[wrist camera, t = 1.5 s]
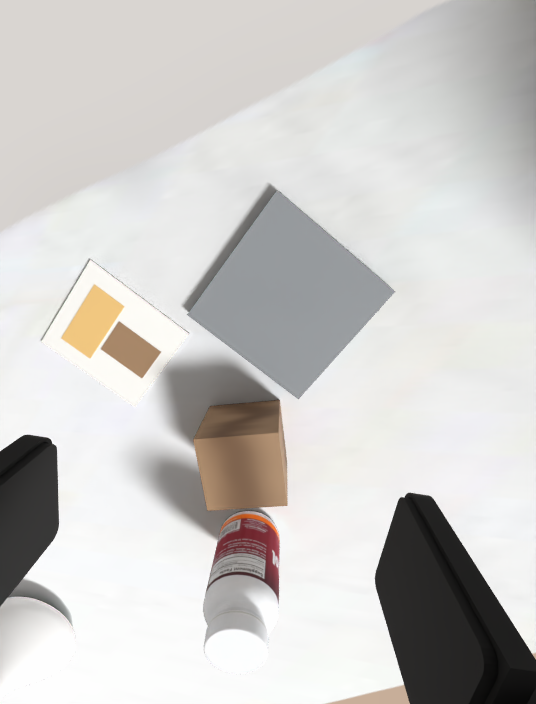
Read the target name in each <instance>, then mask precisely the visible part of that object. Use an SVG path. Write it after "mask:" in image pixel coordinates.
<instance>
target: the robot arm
mask: <svg viewBox="0 0 536 704" xmlns="http://www.w3.org/2000/svg"><path fill="white" fill-rule="evenodd" d="M58 527H59V511H58V472H57V447H56V446H55V445H54V444H52V441H51V440H50V439H49V438H46V437H39V436H33V435H24V436H22V437H20V438H19V439H17V440H16V441H14V442H13V443H12V444H10V445H9V446H7V447H6V448H4V449H3V450H2V451H0V607H1V605H2V604H3V603H4V601H5V600H6V599H7V598H8V596H9V595H10V594H11V593H12V591H13V590H14V589H15V588H16V586H17V585H18V584H19V583H20V581H21V580H22V579H23V578H24V576H25V575H26V574H27V572H28V571H29V570H30V569H31V567H32V566H33V565H34V564H35V562H36V561H37V560H38V559H39V557H40V556H41V555H42V554H43V552H44V551H45V550H46V549H47V547H48V546H49V545H50V544H51V542H52V541H53V539H54V538H55V536H56V534H57V531H58ZM375 584H376V590H377V593H378V596H379V600H380V603H381V607H382V610H383V613H384V617H385V620H386V624H387V627H388V630H389V634H390V637H391V641H392V644H393V648H394V651H395V654H396V658H397V661H398V665H399V668H400V671H401V675H402V678H403V682H404V685H405V688H406V692H407V695H408V698H409V702H410V704H536V659H535V658H534V656H533V655H532V653H531V651H530V650H529V648H528V647H527V645H526V644H525V642H524V640H523V639H522V637H521V636H520V634H519V633H518V631H517V629H516V628H515V626H514V625H513V623H512V622H511V620H510V618H509V617H508V615H507V614H506V612H505V611H504V609H503V607H502V606H501V604H500V603H499V601H498V600H497V598H496V596H495V595H494V593H493V592H492V590H491V589H490V587H489V585H488V584H487V582H486V581H485V579H484V578H483V576H482V574H481V573H480V571H479V570H478V568H477V567H476V565H475V563H474V562H473V560H472V559H471V557H470V556H469V554H468V553H467V551H466V549H465V548H464V546H463V545H462V543H461V542H460V540H459V538H458V537H457V535H456V534H455V532H454V531H453V529H452V527H451V526H450V524H449V523H448V521H447V520H446V518H445V516H444V515H443V513H442V512H441V510H440V509H439V507H438V505H437V504H436V502H435V501H434V499H433V498H432V497H431V496H427V495H421V494H414V493H407V494H406V496H405V498H403V497H401V498H400V499H399V501H398V503H397V506H396V510H395V513H394V516H393V519H392V522H391V526H390V529H389V532H388V535H387V538H386V541H385V545H384V548H383V551H382V554H381V557H380V560H379V564H378V567H377V570H376V574H375Z"/></svg>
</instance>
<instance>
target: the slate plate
mask: <svg viewBox="0 0 536 704" xmlns="http://www.w3.org/2000/svg"><path fill="white" fill-rule="evenodd" d="M394 292H395V291H394V290H393V289H392V288H391V287H390V286H388V285H387V284H386V283H385V282H384V281H383V280H381V279H380V278H379V277H378V276H377V275H376V274H374V273H373V272H372V271H371V270H370V269H369V268H367V267H366V266H365V265H364V264H363V263H362V262H360V261H359V260H358V259H357V258H356V257H355V256H353V255H352V254H351V253H350V252H349V251H348V250H346V249H345V248H344V247H343V246H342V245H341V244H339V243H338V242H337V241H336V240H335V239H334V238H332V237H331V236H330V235H329V234H328V233H327V232H325V231H324V230H323V229H322V228H321V227H320V226H318V225H317V224H316V223H315V222H314V221H313V220H311V219H310V218H309V217H308V216H307V215H306V214H304V213H303V212H302V211H301V210H300V209H299V208H297V207H296V206H295V205H294V204H293V203H292V202H290V201H289V200H288V199H287V198H286V197H285V196H284V195H282V194H281V193H280V192H279V191H278V190H277V191H276V192H275V194H274V195H273V196H272V198H271V199H270V200H269V202H268V203H267V205H266V206H265V207H264V209H263V210H262V212H261V213H260V214H259V216H258V217H257V218H256V220H255V221H254V223H253V224H252V225H251V227H250V228H249V230H248V231H247V232H246V234H245V235H244V236H243V238H242V239H241V241H240V242H239V243H238V245H237V246H236V248H235V249H234V250H233V252H232V253H231V255H230V256H229V257H228V259H227V260H226V261H225V263H224V264H223V266H222V267H221V268H220V270H219V271H218V273H217V274H216V275H215V277H214V278H213V279H212V281H211V282H210V284H209V285H208V286H207V288H206V289H205V291H204V292H203V293H202V295H201V296H200V297H199V299H198V300H197V302H196V303H195V304H194V306H193V307H192V309H191V310H190V311H189V313H188V314H187V315H188V316H189V317H191V318H192V319H193V320H195V321H196V322H197V323H199V324H200V325H201V326H203V327H204V328H205V329H207V330H208V331H209V332H211V333H212V334H213V335H214V336H216V337H217V338H218V339H220V340H221V341H222V342H224V343H225V344H226V345H228V346H229V347H230V348H232V349H233V350H234V351H236V352H237V353H238V354H239V355H241V356H242V357H243V358H245V359H246V360H247V361H249V362H250V363H251V364H253V365H254V366H255V367H257V368H258V369H259V370H261V371H262V372H263V373H265V374H266V375H267V376H268V377H270V378H271V379H272V380H274V381H275V382H276V383H278V384H279V385H280V386H282V387H283V388H284V389H286V390H287V391H288V392H290V393H291V394H292V395H293V396H295V397H296V398H297V399H299V398H300V397H301V396H302V395H303V394H304V392H305V391H306V390H307V389H308V388H309V387H310V386H311V385H312V384H313V382H314V381H315V380H316V379H317V378H318V377H319V376H320V375H321V373H322V372H323V371H324V370H325V369H326V368H327V367H328V366H329V365H330V363H331V362H332V361H333V360H334V359H335V358H336V357H337V356H338V355H339V353H340V352H341V351H342V350H343V349H344V348H345V347H346V346H347V345H348V343H349V342H350V341H351V340H352V339H353V338H354V337H355V336H356V335H357V333H358V332H359V331H360V330H361V329H362V328H363V327H364V326H365V325H366V323H367V322H368V321H369V320H370V319H371V318H372V317H373V316H374V315H375V313H376V312H377V311H378V310H379V309H380V308H381V307H382V306H383V305H384V303H385V302H386V301H387V300H388V299H389V298H390V297H391V296H392V295H393V293H394Z"/></svg>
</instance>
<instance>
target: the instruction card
mask: <svg viewBox="0 0 536 704" xmlns="http://www.w3.org/2000/svg"><path fill="white" fill-rule="evenodd" d="M188 335H189V333H188V332H187V331H185V330H184V329H183V328H181V327H180V326H179V325H177V324H176V323H175V322H173V321H172V320H171V319H169V318H168V317H167V316H165V315H164V314H163V313H161V312H160V311H159V310H157V309H156V308H155V307H153V306H152V305H151V304H149V303H148V302H147V301H145V300H144V299H143V298H141V297H140V296H139V295H137V294H136V293H135V292H133V291H132V290H131V289H129V288H128V287H127V286H125V285H124V284H123V283H121V282H120V281H119V280H117V279H116V278H115V277H113V276H112V275H111V274H109V273H108V272H107V271H105V270H104V269H103V268H101V267H100V266H99V265H97V264H96V263H95V262H93V261H92V260H90V261H89V263H88V264H87V266H86V268H85V269H84V271H83V273H82V274H81V276H80V278H79V279H78V281H77V283H76V284H75V286H74V288H73V289H72V291H71V293H70V294H69V296H68V298H67V299H66V301H65V303H64V304H63V306H62V308H61V309H60V311H59V313H58V314H57V316H56V318H55V319H54V321H53V323H52V324H51V326H50V328H49V329H48V331H47V333H46V335H45V336H44V338H43V340H42V341H41V342H42V343H43V344H45V345H46V346H47V347H49V348H50V349H52V350H53V351H55V352H56V353H57V354H59V355H60V356H62V357H63V358H65V359H66V360H68V361H69V362H70V363H72V364H73V365H75V366H76V367H78V368H79V369H80V370H82V371H83V372H85V373H86V374H88V375H89V376H91V377H92V378H93V379H95V380H96V381H98V382H99V383H101V384H102V385H103V386H105V387H106V388H108V389H109V390H111V391H112V392H113V393H115V394H116V395H118V396H119V397H121V398H122V399H124V400H125V401H126V402H128V403H129V404H131V405H132V406H134V407H136V405H137V404H138V403H139V401H140V400H141V399H142V397H143V396H144V395H145V393H146V392H147V390H148V389H149V388H150V386H151V385H152V384H153V382H154V381H155V380H156V378H157V377H158V376H159V374H160V373H161V371H162V370H163V369H164V367H165V366H166V365H167V363H168V362H169V361H170V359H171V358H172V357H173V355H174V354H175V352H176V351H177V350H178V348H179V347H180V346H181V344H182V343H183V342H184V340H185V339H186V338H187V336H188Z"/></svg>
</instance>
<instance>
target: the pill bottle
mask: <svg viewBox="0 0 536 704" xmlns="http://www.w3.org/2000/svg"><path fill="white" fill-rule="evenodd" d="M279 544H280V540H279V532H278V529H277V527H276V525H275V524H274V522H273V521H272V520H271V519H270V518H269V517H267V516H266V515H264V514H261V513H259V512H254V511H243V512H238V513H236V514H234V515H232V516H230V517H229V518H228V519H227V520H226V521H225V522H224V524H223V525H222V527H221V530H220V534H219V538H218V542H217V547H216V551H215V555H214V560H213V564H212V569H211V573H210V577H209V582H208V586H207V590H206V594H205V599H204V604H203V612H204V617H205V620H206V623H207V625H208V627H207V630H206V636H205V643H204V653H205V656H206V658H207V660H208V661H209V662H210V663H211V664H212V665H213V666H215V667H216V668H218V669H220V670H222V671H224V672H228V673H232V674H246V673H250V672H253V671H255V670H257V669H259V668H260V667H261V666H262V665H263V664H264V662H265V661H266V658H267V653H268V640H269V636H268V634H269V633H270V632H271V631H272V629H273V628H274V626H275V624H276V621H277V618H278V608H279Z"/></svg>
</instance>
